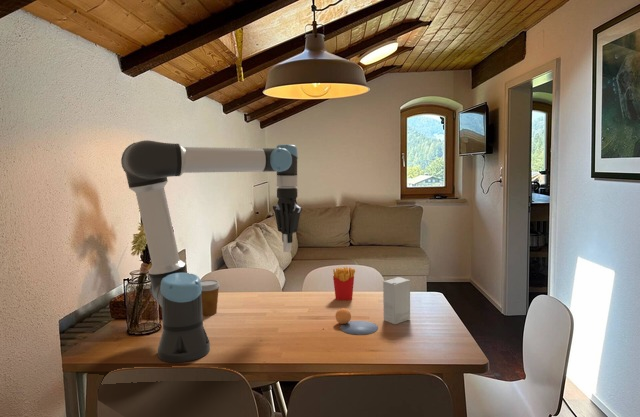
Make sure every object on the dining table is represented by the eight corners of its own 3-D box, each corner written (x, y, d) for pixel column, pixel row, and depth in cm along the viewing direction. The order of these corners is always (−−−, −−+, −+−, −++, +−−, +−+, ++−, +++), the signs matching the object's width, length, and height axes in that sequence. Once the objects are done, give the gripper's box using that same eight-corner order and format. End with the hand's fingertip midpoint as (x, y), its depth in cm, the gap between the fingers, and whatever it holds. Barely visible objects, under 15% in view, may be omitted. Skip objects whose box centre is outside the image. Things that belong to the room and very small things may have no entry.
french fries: (333, 300, 189) (333, 269, 188) (333, 297, 194) (333, 267, 192) (355, 300, 189) (355, 269, 188) (355, 297, 193) (354, 266, 192)
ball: (345, 313, 157) (332, 308, 161) (344, 328, 158) (331, 323, 162) (354, 309, 161) (342, 304, 165) (353, 323, 162) (341, 318, 166)
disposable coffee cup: (224, 309, 181) (222, 279, 179) (216, 317, 171) (214, 286, 170) (200, 309, 182) (199, 279, 180) (191, 317, 172) (190, 285, 171)
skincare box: (398, 315, 169) (398, 276, 168) (411, 320, 164) (411, 279, 163) (382, 320, 164) (382, 280, 163) (394, 325, 159) (394, 283, 158)
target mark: (364, 337, 149) (364, 337, 148) (332, 329, 156) (332, 328, 156) (385, 326, 159) (385, 325, 159) (353, 318, 167) (353, 318, 167)
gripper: (307, 187, 166) (307, 251, 168) (281, 186, 174) (281, 248, 176) (293, 188, 160) (293, 254, 162) (267, 187, 168) (267, 250, 170)
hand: (287, 251), depth 169 cm, fingers closed
